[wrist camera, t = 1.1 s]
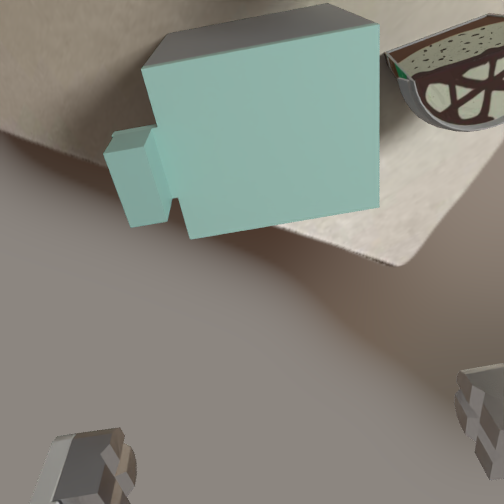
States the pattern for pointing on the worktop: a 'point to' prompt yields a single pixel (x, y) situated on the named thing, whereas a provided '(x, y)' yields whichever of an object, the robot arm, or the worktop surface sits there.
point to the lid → (256, 135)
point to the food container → (455, 75)
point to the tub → (254, 32)
